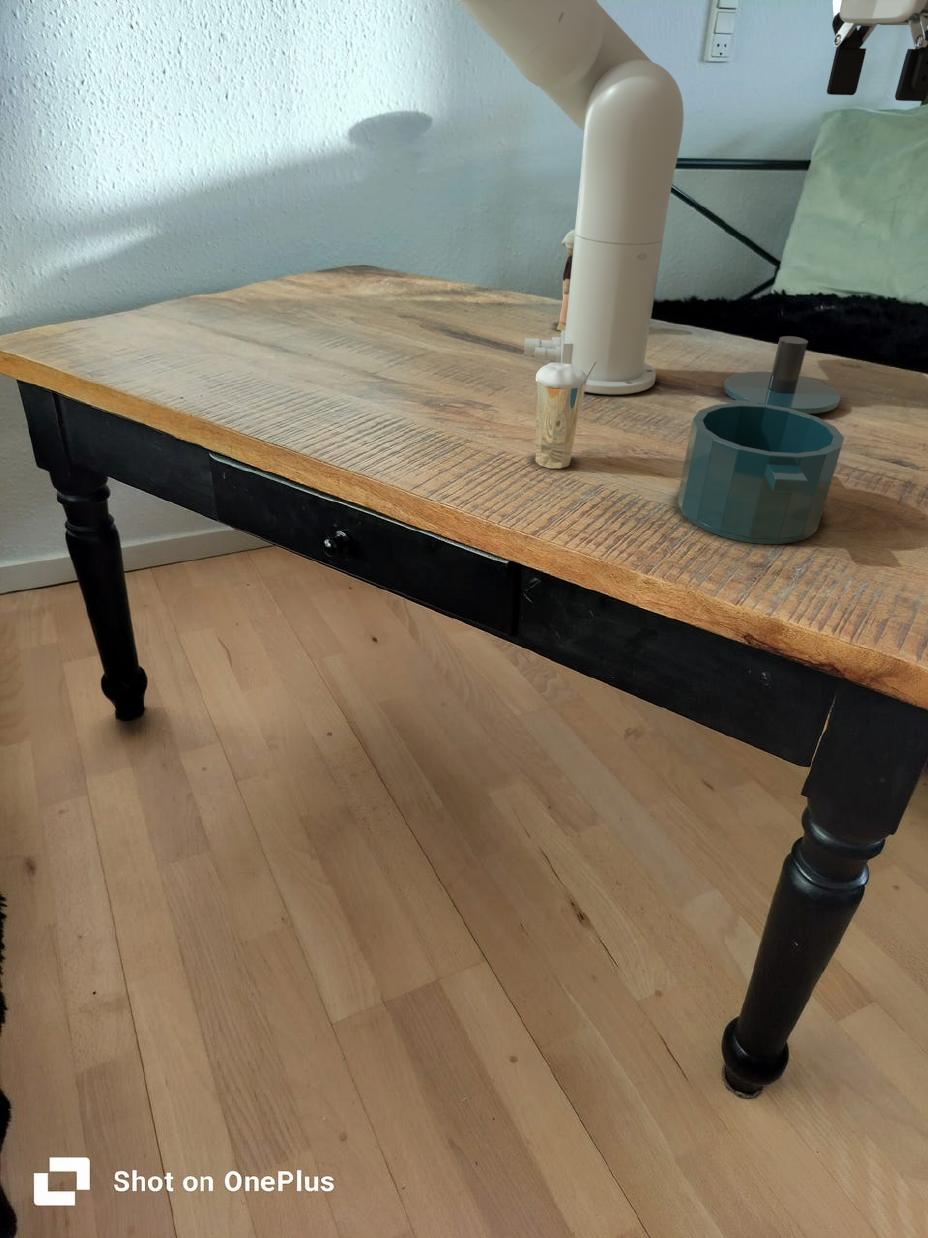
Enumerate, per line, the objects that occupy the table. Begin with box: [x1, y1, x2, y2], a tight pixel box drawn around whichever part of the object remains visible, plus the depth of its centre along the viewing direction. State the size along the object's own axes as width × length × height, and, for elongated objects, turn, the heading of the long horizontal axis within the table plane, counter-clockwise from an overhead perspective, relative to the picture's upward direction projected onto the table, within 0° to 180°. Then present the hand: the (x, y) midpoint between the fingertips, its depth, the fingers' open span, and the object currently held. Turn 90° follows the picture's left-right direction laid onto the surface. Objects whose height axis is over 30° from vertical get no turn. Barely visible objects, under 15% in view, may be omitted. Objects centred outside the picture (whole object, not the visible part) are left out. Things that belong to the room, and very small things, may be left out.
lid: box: [723, 335, 841, 415], centre depth 97 cm, size 13×13×7 cm
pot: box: [677, 399, 845, 545], centre depth 72 cm, size 12×17×8 cm
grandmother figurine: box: [556, 228, 575, 332], centre depth 117 cm, size 8×4×13 cm, turn 179°
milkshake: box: [535, 362, 596, 470], centre depth 78 cm, size 4×5×10 cm
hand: (873, 97), depth 84 cm, fingers open, 9 cm apart
